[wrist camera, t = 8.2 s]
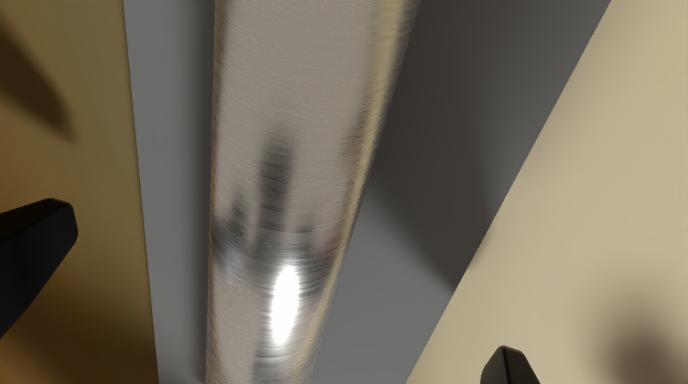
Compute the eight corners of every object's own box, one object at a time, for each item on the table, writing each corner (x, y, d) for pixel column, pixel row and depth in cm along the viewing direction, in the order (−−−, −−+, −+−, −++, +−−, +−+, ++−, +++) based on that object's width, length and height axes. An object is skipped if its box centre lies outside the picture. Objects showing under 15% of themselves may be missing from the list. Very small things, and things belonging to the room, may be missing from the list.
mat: (366, 443, 15) (363, 461, 14) (169, 373, 15) (159, 389, 15) (682, -167, 5) (703, -172, 5) (125, -301, 6) (93, -316, 5)
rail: (297, 430, 14) (269, 515, 12) (226, 404, 14) (187, 485, 12) (473, -167, 5) (470, -193, 3) (277, -217, 5) (165, -266, 3)
